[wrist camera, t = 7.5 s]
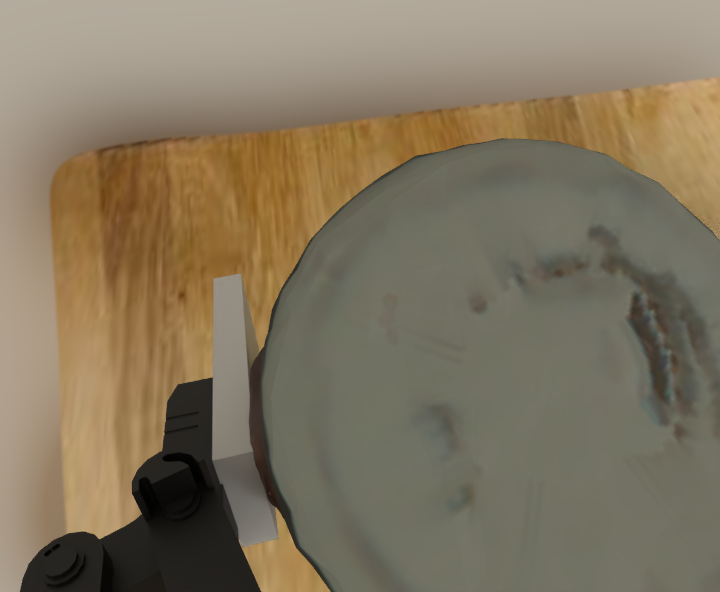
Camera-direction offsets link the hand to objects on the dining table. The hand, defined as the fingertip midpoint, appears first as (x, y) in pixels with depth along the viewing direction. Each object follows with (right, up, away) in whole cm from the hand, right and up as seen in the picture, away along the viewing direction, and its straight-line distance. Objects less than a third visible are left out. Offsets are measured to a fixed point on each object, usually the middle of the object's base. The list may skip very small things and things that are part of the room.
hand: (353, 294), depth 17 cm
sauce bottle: (0, -5, +7) cm, 8 cm away
